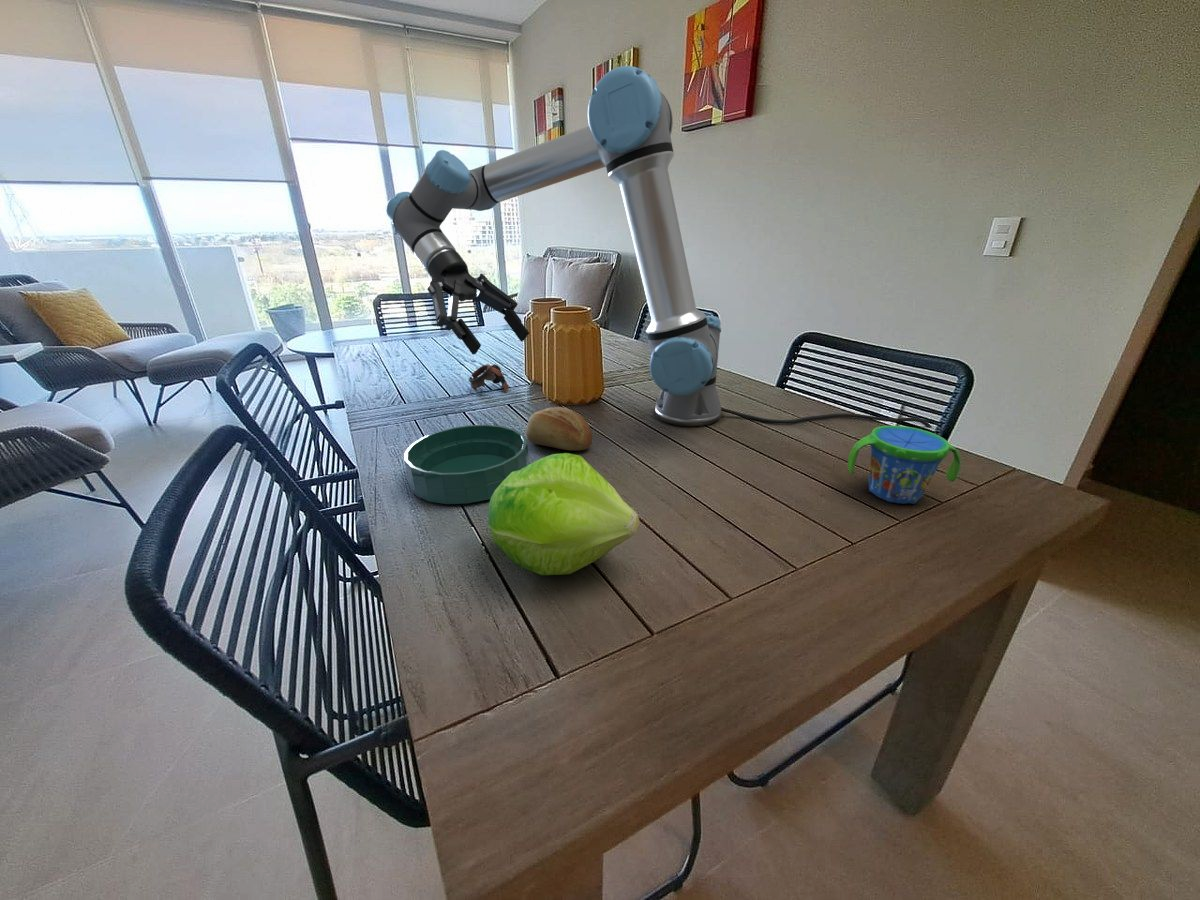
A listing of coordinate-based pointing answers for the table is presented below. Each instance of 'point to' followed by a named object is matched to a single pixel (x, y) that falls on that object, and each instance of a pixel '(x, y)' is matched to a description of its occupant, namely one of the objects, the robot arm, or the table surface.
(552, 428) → the bread roll
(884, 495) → the snack cup
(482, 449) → the bowl
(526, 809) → the table surface
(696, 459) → the table surface
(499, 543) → the lettuce
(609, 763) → the table surface
